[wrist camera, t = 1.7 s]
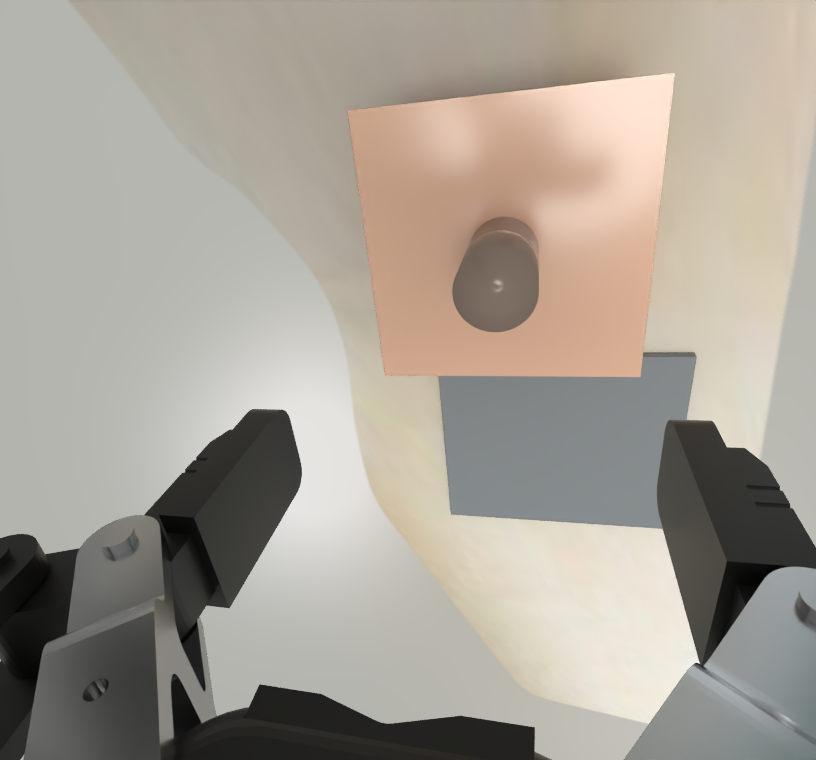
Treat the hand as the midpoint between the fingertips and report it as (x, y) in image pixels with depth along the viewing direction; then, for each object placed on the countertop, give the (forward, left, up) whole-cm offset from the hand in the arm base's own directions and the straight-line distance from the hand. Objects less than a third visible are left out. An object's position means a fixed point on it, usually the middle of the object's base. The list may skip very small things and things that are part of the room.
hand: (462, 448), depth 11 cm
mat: (+3, -16, -23) cm, 28 cm away
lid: (0, 0, -16) cm, 16 cm away
